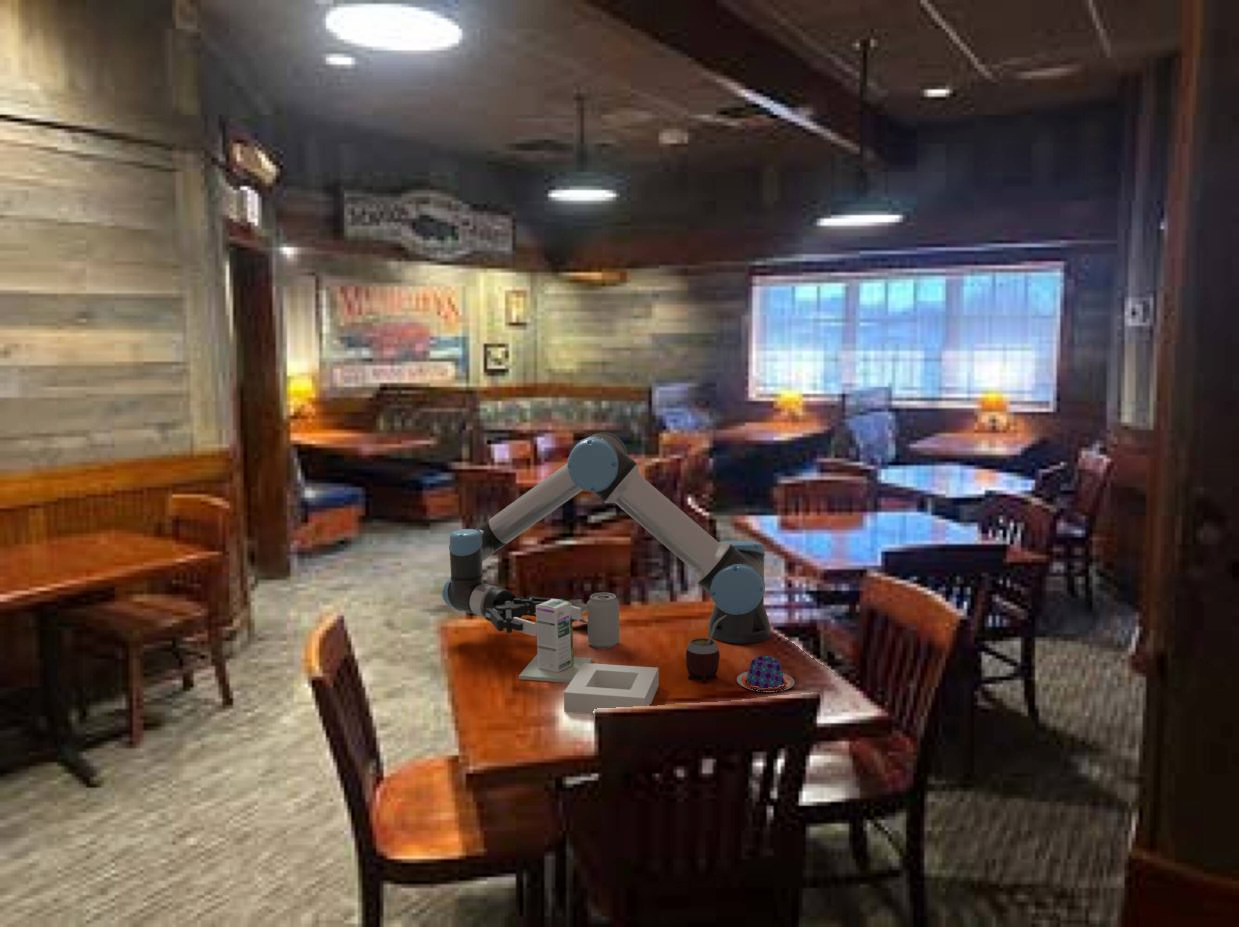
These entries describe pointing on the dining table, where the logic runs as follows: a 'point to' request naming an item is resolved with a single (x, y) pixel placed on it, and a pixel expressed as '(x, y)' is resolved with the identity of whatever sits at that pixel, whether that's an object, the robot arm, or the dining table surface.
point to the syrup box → (554, 635)
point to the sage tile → (543, 675)
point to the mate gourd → (703, 657)
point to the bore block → (610, 687)
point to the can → (603, 620)
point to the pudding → (765, 673)
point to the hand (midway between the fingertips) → (558, 621)
